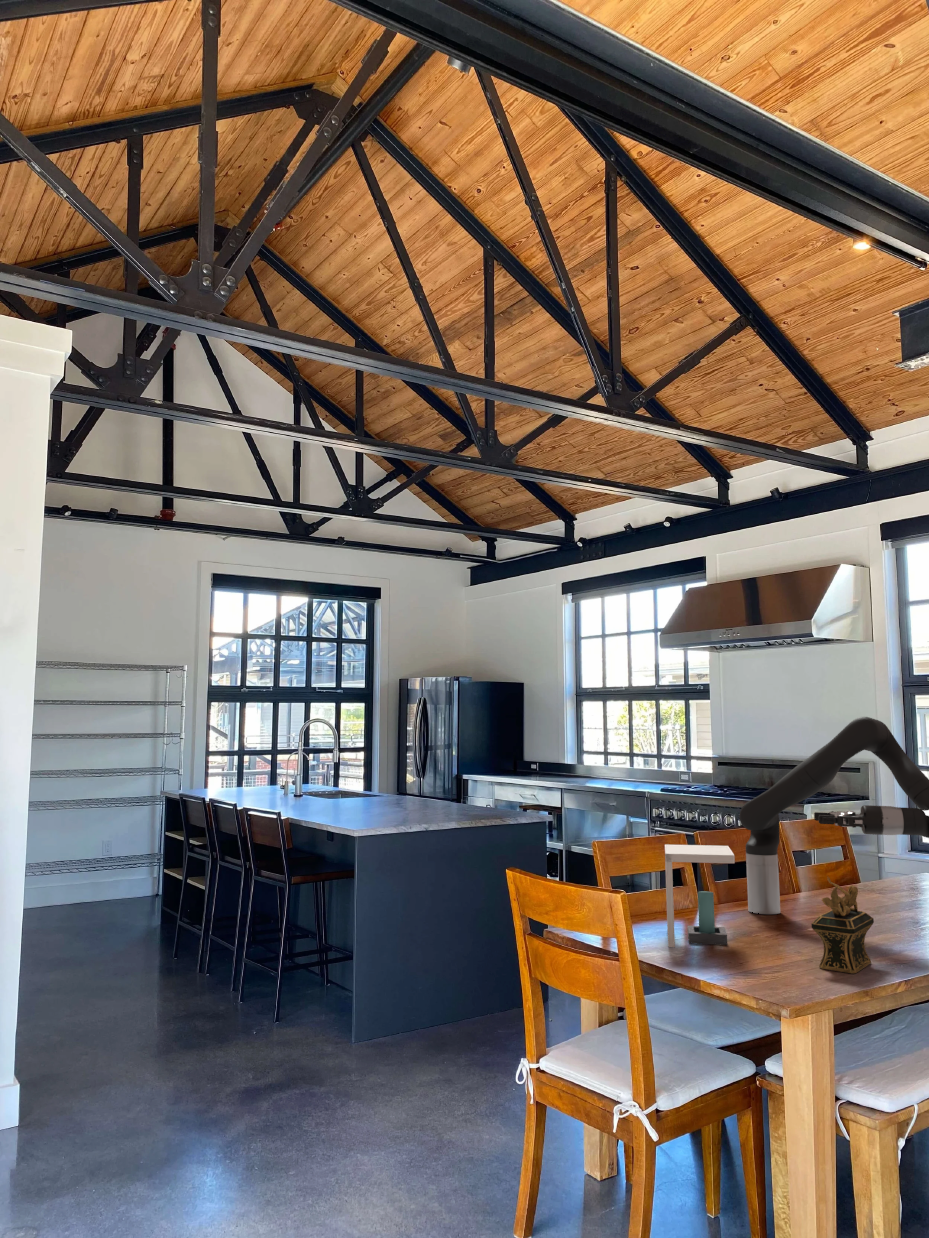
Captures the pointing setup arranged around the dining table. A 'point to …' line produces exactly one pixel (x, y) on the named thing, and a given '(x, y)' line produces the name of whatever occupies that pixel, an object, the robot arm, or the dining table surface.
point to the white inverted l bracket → (689, 855)
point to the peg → (706, 912)
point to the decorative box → (843, 932)
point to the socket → (707, 936)
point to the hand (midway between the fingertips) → (816, 817)
